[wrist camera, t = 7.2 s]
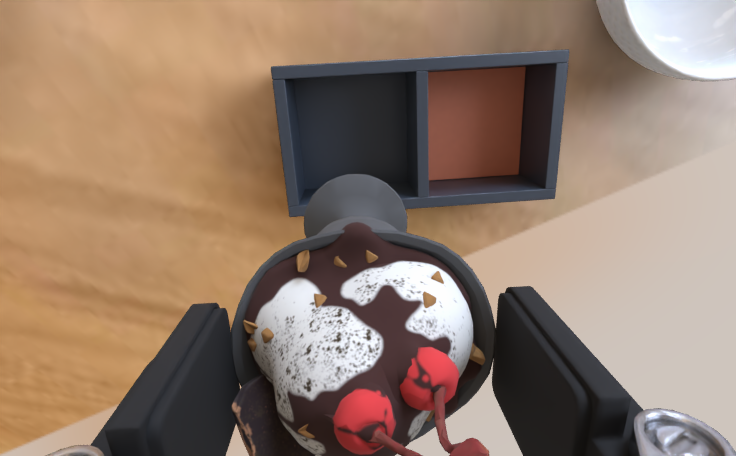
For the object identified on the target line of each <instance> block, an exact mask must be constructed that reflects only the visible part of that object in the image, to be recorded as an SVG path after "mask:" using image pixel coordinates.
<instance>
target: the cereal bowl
mask: <svg viewBox="0 0 736 456" xmlns="http://www.w3.org/2000/svg"><path fill="white" fill-rule="evenodd" d="M596 2H597V6H598V8H599V13H600V15H601V19H602V21H603V23H604V25H605V27H606V29H607V32H608V33H609V34H610V36H611V38H612V39H613V40H614V42H615V43H616V44H617V45H618V46H619V48H620V49H621V50H622V51H623V52H624V53H625V54H626V55H628V57H629V58H631V59H633V60H634V61H635V62H637V63H638V64H640V65H642V66H643V67H646V68H647V69H649V70H652V71H654V72H656V73H660V74H663V75H665V76H670V77H674V78H679V79H686V80H692V81H722V80H732V79H736V0H596Z"/></svg>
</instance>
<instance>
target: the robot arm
mask: <svg viewBox="0 0 736 456" xmlns="http://www.w3.org/2000/svg"><path fill="white" fill-rule="evenodd" d="M492 375H493V376H492V386H493V391H494V394H495V397H496V399H497V401H498V403H499V405H500V407H501V410H502V412H503V414H504V416H505V418H506V420H507V422H508V424H509V427H510V429H511V431H512V433H513V435H514V437H515V439H516V441H517V444H518V446H519V448H520V450H521V452H522V454H523V456H736V452H735V450H734V449H733V448H732V446H731V445H730V443H729V442H728V441H727V440H726V439H725V438H724V437H723V436H722V435H721V434H720V433H719V432H717V431H716V430H715V429H713V428H712V427H710V426H708V425H707V424H705V423H704V422H702V421H700V420H698V419H696V418H694V417H691V416H689V415H687V414H684V413H680V412H677V411H674V410H668V409H661V408H656V409H646V410H643V409H642V408H641V407H640V406H639V405H638V404H637V403H636V401H635V400H634V399H633V398H632V397H631V396H630V395H629V394H628V392H627V391H626V390H625V389H624V388H623V387H622V386H621V385H620V384H619V382H618V381H617V380H616V379H615V378H614V377H613V376H612V375H611V374H610V373H609V371H608V370H607V369H606V368H605V367H604V366H603V365H602V364H601V363H600V362H599V360H598V359H597V358H596V357H595V356H594V355H593V354H592V353H591V352H590V351H589V349H588V348H587V347H586V346H585V345H584V344H583V343H582V342H581V340H580V339H579V338H578V337H577V336H576V335H575V334H574V333H573V332H572V331H571V329H570V328H569V327H568V326H567V325H566V324H565V323H564V322H563V321H562V320H561V319H560V317H559V316H558V315H557V314H556V313H555V312H554V311H553V310H552V309H551V308H550V306H549V305H548V304H547V303H546V302H545V301H544V300H543V298H542V297H541V296H540V295H539V294H538V293H537V292H536V291H535V290H534V289H533V288H532V287H530V286H524V287H508V288H507V289H506V292H505V293H501V294H500V295H499V299H498V310H497V323H496V342H495V354H494V361H493V374H492ZM239 391H240V386H239V381H238V379H237V376H236V371H235V366H234V360H233V355H232V347H231V332H230V326H229V320H228V314H227V311H226V309H225V308H220V307H219V305H218V304H217V303H205V304H193V305H192V306H191V307H190V308H189V310H188V311H187V312H186V314H185V315H184V317H183V318H182V320H181V321H180V322H179V324H178V325H177V327H176V328H175V330H174V331H173V332H172V334H171V335H170V337H169V338H168V339H167V341H166V342H165V344H164V345H163V347H162V348H161V349H160V351H159V352H158V354H157V355H156V357H155V358H154V359H153V360H152V361H151V362H150V363H149V364H148V365H147V366H146V368H145V369H144V370H143V372H142V373H141V375H140V376H139V378H138V379H137V380H136V382H135V383H134V385H133V386H132V387H131V389H130V390H129V392H128V393H127V394H126V396H125V397H124V399H123V400H122V401H121V403H120V404H119V406H118V407H117V409H116V410H115V411H114V413H113V414H112V416H111V417H110V418H109V420H108V421H107V423H106V424H105V425H104V427H103V428H102V430H101V431H100V433H99V434H98V436H97V437H96V438H95V440H94V441H93V443H92V444H91V445H78V446H71V447H68V448H64V449H60V450H58V451H56V452H53V453H51V454H48V455H46V456H226V452H227V449H228V446H229V443H230V440H231V437H232V434H233V431H234V428H235V425H236V421H235V419H234V416H233V413H232V404H233V402H234V400H235V398H236V396H237V394H238V393H239Z"/></svg>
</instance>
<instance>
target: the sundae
mask: <svg viewBox="0 0 736 456" xmlns="http://www.w3.org/2000/svg"><path fill="white" fill-rule="evenodd" d="M406 229H407V214H406V211H405V207H404V205H403V202H402V200H401V198H400V197H399V195H398V194H397V193H396V192H395V190H394V189H392V188H391V187H390V186H389V185H388V184H387V183H385V182H384V181H382V180H380V179H378V178H375V177H372V176H370V175H364V174H346V175H343V176H340V177H336V178H334V179H332V180H330V181H328V182H326V183H325V184H324V185H323V186H321V187H320V188H319V189H318V190H317V191H316V192H315V193H314V194H313V196H312V197H311V199H310V201H309V203H308V205H307V208H306V211H305V214H304V230H305V235H306V238H305V239H302V240H299V241H296V242H293V243H291V244H290V245H288V246H286V247H284V248H283V249H281V250H279V251H278V252H276V253H275V254H273V255H272V256H271V257H270V258H269V259H268V260H267V261H266V262H265V263H264V264H263V265H262V266H261V267H260V268H259V269H258V271H257V272H256V273H255V275H254V276H253V278H252V279H251V280H250V282H249V283H248V285H247V286H246V289H245V291H244V293H243V296H242V298H241V300H240V303H239V305H238V308H237V311H236V315H235V318H234V322H233V325H232V328H231V347H232V355H233V360H234V366H235V371H236V376H237V379H238V381H239V383H240V385H241V387H242V388H241V389H240V391H239V393H238V394H237V396H236V398H235V400H234V402H233V404H232V413H233V416H234V419H235V421H236V424H237V426H238V429H239V432H240V435H241V437H242V440H243V442H244V445H245V447H246V449H247V451H248V453H249V456H395V455H396V454H399V455H401V456H422V455H420V454H419V453H416V452H414V451H412V450H409V449H406V448H405V446H407V445H408V444H409V443H410V442H411V441H413V440H415V439H417V438H419V437H421V436H423V435H424V434H426V433H427V432H428V431H430V430H431V429H433V428H434V427H435V426H436V429H437V432H438V436H439V440H440V443H441V445H442V446H443V448H444V450H445V451H447V452H448V453H450V455H449V456H489V451H488V450H487V449H486V448H485V447H484V446H483V445H482V444H481V443H480V442H479V441H478V440H477V439H474V438H469V439H466V440H465V441H464V442H462V443H458V444H453V445H452V444H451V443H450V442H449V440H448V436H447V431H446V426H445V419H446V418H448V417H449V416H450V415H452V414H453V413H454V412H456V411H457V410H458V409H460V408H461V407H462V406H464V405H465V404H466V403H467V402H468V401H469V400H470V399H471V398H472V397H473V396H474V395H475V394H476V393H477V391H478V390H479V389H480V387H481V386H482V384H483V383H484V381H485V380H486V378H487V377H488V375H489V374H490V370H491V366H492V362H493V358H494V354H495V342H496V328H495V324H494V319H493V315H492V310H491V306H490V304H489V301H488V298H487V295H486V293H485V290H484V287H483V286H482V284H481V283H480V281H479V279H478V278H477V276H476V275H475V273H474V272H473V270H472V269H471V268H470V267H469V266H468V264H466V262H465V261H464V260H463V259H462V258H461V257H460V256H459V255H458V254H456V253H455V252H453V251H452V250H450V249H449V248H447V247H446V246H445V245H443V244H440V243H437V242H435V241H432V240H429V239H427V238H424V237H420V236H417V235H413V234H409V233H406Z"/></svg>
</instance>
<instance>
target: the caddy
mask: <svg viewBox="0 0 736 456" xmlns="http://www.w3.org/2000/svg"><path fill="white" fill-rule="evenodd" d="M568 59H569V50H551V51H533V52H516V53H498V54H481V55H464V56H446V57H429V58H411V59H394V60H377V61H359V62H342V63H325V64H307V65H290V66H272V67H271V73H272V79H273V89H274V97H275V105H276V113H277V121H278V129H279V137H280V145H281V153H282V161H283V169H284V177H285V185H286V193H287V201H288V209H289V216H290V217H297V216H304V214H305V211H306V208H307V205H308V203H309V201H310V199H311V197H312V196H313V194H314V193H315V192H316V191H317V190H318V189H319V188H320V187H321V186H323V185H324V184H325V183H326V182H328V181H330V180H332V179H334V178H336V177H340V176H343V175H346V174H364V175H370V176H372V177H375V178H378V179H380V180H382V181H384V182H385V183H387V184H388V185H389V186H390V187H391V188H392V189H394V190H395V192H396V193H397V194H398V195H399V197H400V198H401V200H402V202H403V205H404V207H405V209H414V208H428V207H443V206H457V205H472V204H486V203H501V202H515V201H530V200H544V199H555V192H556V183H557V173H558V162H559V152H560V142H561V132H562V122H563V112H564V102H565V91H566V81H567V71H568V63H567V62H568Z"/></svg>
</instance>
